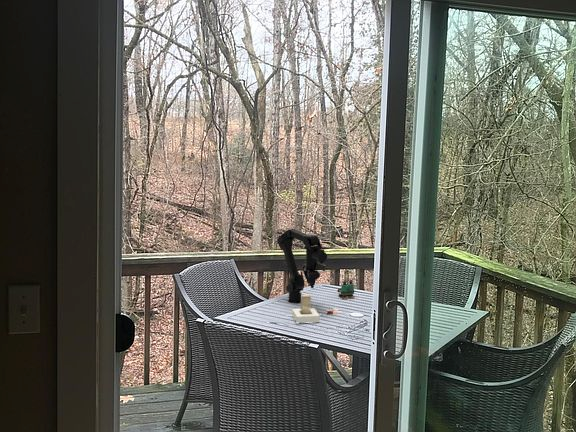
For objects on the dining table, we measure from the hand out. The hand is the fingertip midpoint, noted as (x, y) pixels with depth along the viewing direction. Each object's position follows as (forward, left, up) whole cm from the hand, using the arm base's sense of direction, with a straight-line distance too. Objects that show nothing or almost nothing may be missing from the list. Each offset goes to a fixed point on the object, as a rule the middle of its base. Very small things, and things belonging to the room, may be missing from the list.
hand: (310, 285), depth 339 cm
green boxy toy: (+18, +24, -13) cm, 33 cm away
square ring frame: (0, -18, -13) cm, 22 cm away
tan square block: (0, -18, -13) cm, 22 cm away
